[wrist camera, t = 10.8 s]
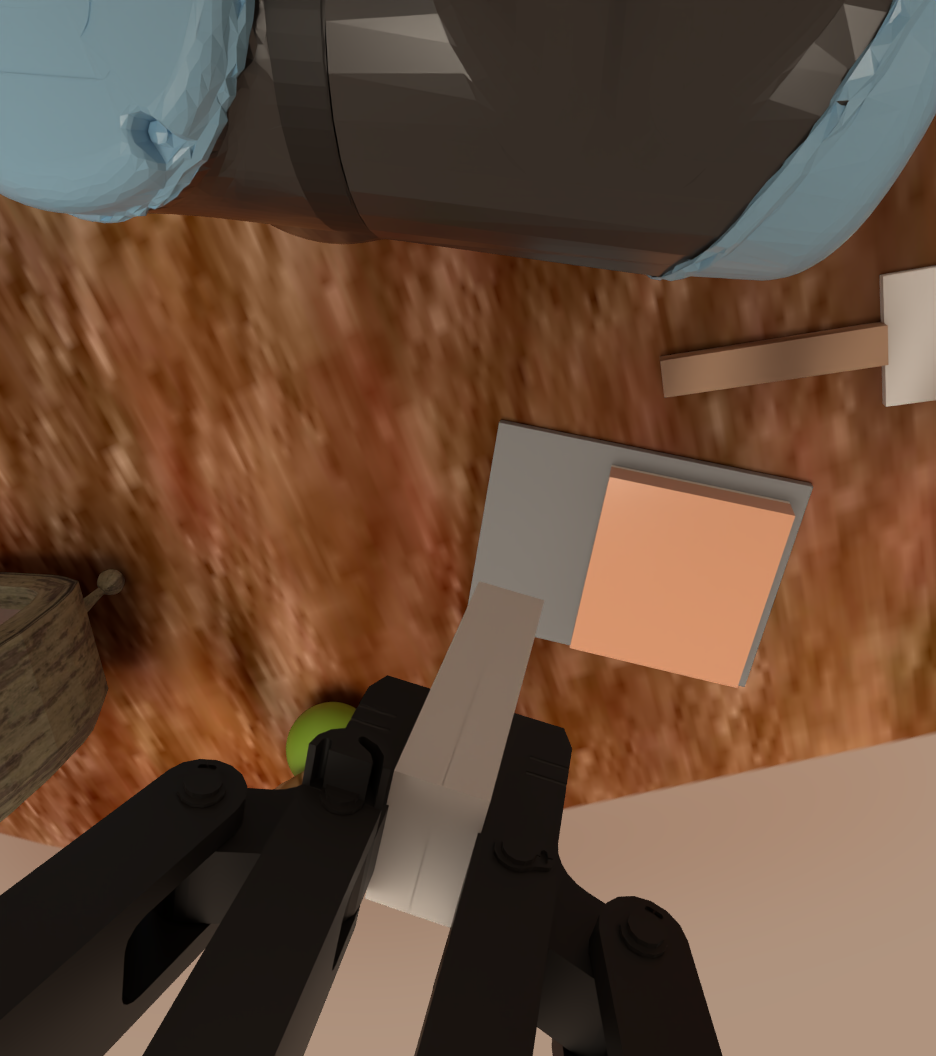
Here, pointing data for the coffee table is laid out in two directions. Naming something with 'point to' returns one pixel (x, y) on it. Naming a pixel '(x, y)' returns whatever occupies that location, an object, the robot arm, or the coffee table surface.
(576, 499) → the mat
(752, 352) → the turner
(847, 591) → the coffee table surface
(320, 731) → the snail figurine
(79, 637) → the tabletop clock
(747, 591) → the tile
